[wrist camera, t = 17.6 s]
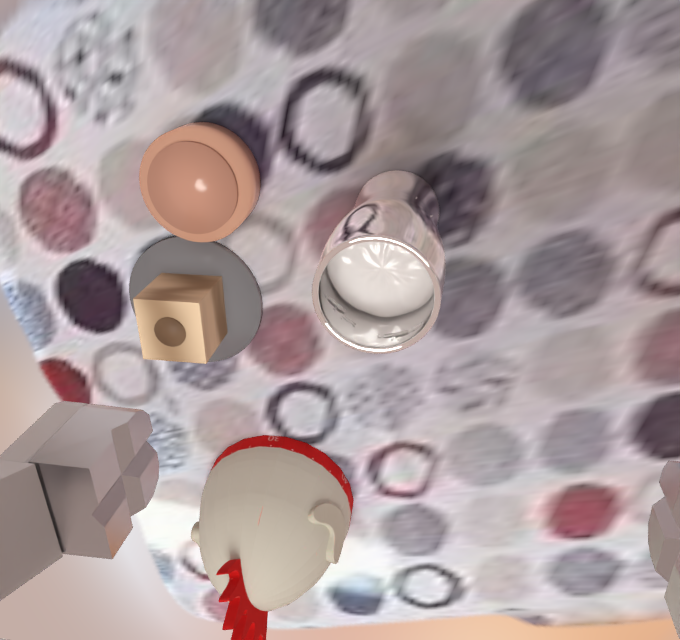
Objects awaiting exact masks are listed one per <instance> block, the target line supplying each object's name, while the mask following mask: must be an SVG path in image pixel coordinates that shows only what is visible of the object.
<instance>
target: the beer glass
mask: <svg viewBox="0 0 680 640" xmlns="http://www.w3.org/2000/svg"><path fill="white" fill-rule="evenodd" d="M439 215H440V209H439V202H438V199H437V196H436V194H435V192H434V191H433V189H432V188H431V186H430V185H429V184H428V183H427V182H426V181H425V180H424V179H422V178H421V177H419V176H418V175H416V174H413V173H410V172H407V171H400V170H393V171H387V172H383V173H381V174H378V175H376V176H375V177H373V178H372V179H370V180H369V181H368V182H367V183H366V184H365V185H364V186H363V188H362V189H361V191H360V192H359V194H358V197H357V199H356V203H355V208H353V209H352V210H351V211H350V212H349V213H347V214H346V215H345V216H344V217H343V218H342V219H341V220H340V221H339V223H338V224H337V225H336V227H335V228H334V230H333V231H332V233H331V234H330V236H329V238H328V240H327V242H326V244H325V247H324V249H323V251H322V254H321V258H320V261H319V264H318V268H317V270H316V273H315V276H314V279H313V284H312V299H313V305H314V308H315V311H316V314H317V316H318V318H319V320H320V322H321V323H322V325H323V326H324V327H325V329H326V330H327V331H328V332H329V333H330V334H331V335H332V336H333V337H334V338H335V339H337V340H338V341H340V342H341V343H343V344H344V345H346V346H348V347H350V348H353V349H355V350H358V351H362V352H366V353H374V354H385V353H392V352H397V351H400V350H403V349H405V348H408V347H410V346H412V345H413V344H415V343H416V342H418V341H419V340H421V339H422V338H423V337H424V336H425V335H426V334H427V333H428V332H429V330H430V329H431V328H432V326H433V325H434V323H435V321H436V319H437V316H438V313H439V310H440V305H441V297H442V293H443V288H444V282H445V271H446V263H445V251H444V246H443V242H442V239H441V237H440V234H439V231H438V229H437V225H438V221H439Z"/></svg>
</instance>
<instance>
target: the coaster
mask: <svg viewBox="0 0 680 640" xmlns="http://www.w3.org/2000/svg"><path fill="white" fill-rule="evenodd" d="M161 273H173V274H191V275H209V276H222V282H223V292H224V302H225V312H226V322H227V332H228V333H227V334H226V336H225V337H224V339H223V340H222V342H221V343H220V345H219V346H218V348H217V349H216V350H215V352H214V353H213V355H212V356H211V358H210V359H209V361H208V362H214V361H220V360H224V359H227V358H230V357H232V356H234V355H236V354H238V353H239V352H241V351H242V350H243V349H244V348H245V347H246V346H247V345H248V344H249V343H250V342H251V340H252V339H253V337H254V336H255V334H256V332H257V330H258V328H259V325H260V322H261V318H262V298H261V293H260V290H259V287H258V284H257V282H256V279H255V278H254V276H253V274H252V272H251V271H250V270H249V268H248V267H247V266H246V264H245V263H244V262H243V261H242V260H241V259H240V258H239V257H238V256H237V255H236V254H234V253H233V252H232V251H231V250H229V249H228V248H226V247H225V246H223V245H221V244H219V243H217V242H215V241H212V242H193V241H189V240H185V239H183V238H180V237H178V236H175V237H170V238H167V239H164V240H162V241H160V242H157V243H156V244H154V245H153V246H151V247H150V248H149V249H148V250H146V251H145V252H144V253H143V254H142V255H141V257H140V258H139V259H138V261H137V262H136V264H135V266H134V268H133V271H132V273H131V277H130V283H129V293H130V300H131V305H132V308H133V311H134V313H135V308H134V302H133V298H134V297H136V296H137V295H138V294H139V293H140V292H141V291H142V290H143V289H144V288H145V287H147V286H148V285H149V284H150V283H151V282H152V281H153V280H154V279H155V278H156V277H157V276H159V275H160V274H161ZM135 316H136V313H135Z"/></svg>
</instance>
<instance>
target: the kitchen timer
mask: <svg viewBox="0 0 680 640" xmlns="http://www.w3.org/2000/svg"><path fill="white" fill-rule="evenodd" d="M352 507H353V496H352V492H351V487H350V484H349V482H348V480H347V479H346V477H345V475H344V474H343V472H342V470H341V469H340V467H339V466H338V465H337V464H335V463H334V462H333V461H332V460H331V459H330V458H329V457H328V456H327V455H326V454H325V453H323V452H321V451H319V450H318V449H316V448H314V447H312V446H311V445H309V444H307V443H305V442H301V441H298V440H295V439H291V438H288V437H282V436H267V435H263V436H258V437H252V438H247V439H243V440H241V441H239V442H237V443H235V444H233V445H232V446H230V447H228V448H227V449H226V450H225V451H224V452H223V453H222V454H221V455H220V456H219V457H218V458H217V460H216V462H215V464H214V466H213V468H212V469H211V472H210V474H209V477H208V479H207V482H206V484H205V487H204V490H203V493H202V498H201V506H200V519H199V522H196V523H195V524H194V526H193V528H192V532H191V538H192V540H193V541H194V542H196V543H197V544H198V545H199V547H200V553H201V557H202V560H203V563H204V568H205V570H206V572H207V574H208V577H209V579H210V581H211V583H212V584H213V586H214V587H215V589H216V590H217V591H218V592H219V594H220V595H221V596H220V598H219V602H229V605H228V609H227V613H226V616H225V620H224V624H223V630H230V629H234V630H233V633H232V637H231V640H266V631H267V615H268V611H272V610H275V609H277V608H280V607H283V606H285V605H288V604H290V603H292V602H293V601H295V600H296V599H298V598H299V597H300V596H301V595H303V594H304V593H305V592H306V591H308V590H309V589H310V588H311V587H313V586H314V585H315V584H316V583H317V582H318V581H319V579H320V578H321V577H322V575H323V574H324V572H325V571H326V569H327V568H328V566H329V565H330V563H333V564H336V563H337V562H338V560H339V557H340V554H341V550H342V547H343V542H344V540H345V538H346V535H347V533H348V530H349V525H350V520H351V514H352Z"/></svg>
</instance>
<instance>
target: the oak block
mask: <svg viewBox="0 0 680 640" xmlns="http://www.w3.org/2000/svg"><path fill="white" fill-rule="evenodd" d="M133 302H134V308H135V313H136V319H137V325H138V331H139V336H140V342H141V348H142V354H143V359H153V360H165V361H178V362H191V363H204V364H207V362H208V361H209V359H210V358H211V356H212V355H213V353H214V352H215V350H216V349H217V348H218V346H219V345H220V343H221V342H222V340H223V339H224V337H225V336H226V334H227V333H228V332H227V322H226V312H225V302H224V292H223V282H222V276H209V275H191V274H173V273H161V274H160V275H159V276H157V277H156V278H155V279H154V280H153V281H152V282H151V283H150V284H149V285H148V286H147V287H145V288H144V289H143V290H142V291H141V292H140V293H139V294H138V295H137V296H136V297H134V298H133Z"/></svg>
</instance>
